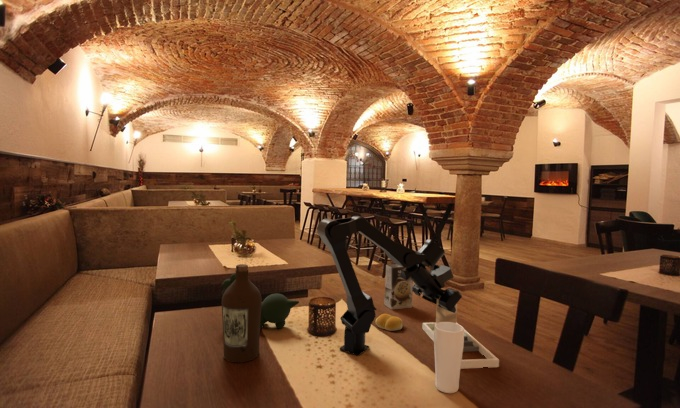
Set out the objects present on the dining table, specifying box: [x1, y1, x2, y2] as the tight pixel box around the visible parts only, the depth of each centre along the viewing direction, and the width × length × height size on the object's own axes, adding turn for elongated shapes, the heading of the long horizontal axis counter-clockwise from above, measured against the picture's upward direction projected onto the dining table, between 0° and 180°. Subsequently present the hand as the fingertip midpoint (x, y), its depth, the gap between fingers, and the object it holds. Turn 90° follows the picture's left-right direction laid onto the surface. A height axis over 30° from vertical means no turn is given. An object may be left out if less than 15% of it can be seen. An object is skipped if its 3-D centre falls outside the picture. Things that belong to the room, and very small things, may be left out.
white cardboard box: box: [383, 263, 414, 310], centre depth 153 cm, size 9×6×16 cm
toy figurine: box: [220, 272, 300, 330], centre depth 130 cm, size 9×19×25 cm
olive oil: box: [221, 263, 263, 363], centre depth 108 cm, size 11×11×25 cm
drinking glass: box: [433, 322, 465, 394], centre depth 94 cm, size 7×7×15 cm
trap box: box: [422, 321, 500, 370], centre depth 118 cm, size 28×12×2 cm, turn 7°
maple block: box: [435, 298, 458, 324], centre depth 126 cm, size 4×4×12 cm
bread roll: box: [374, 313, 404, 332], centre depth 133 cm, size 8×9×4 cm
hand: (450, 309), depth 127 cm, fingers closed on maple block, 4 cm apart
